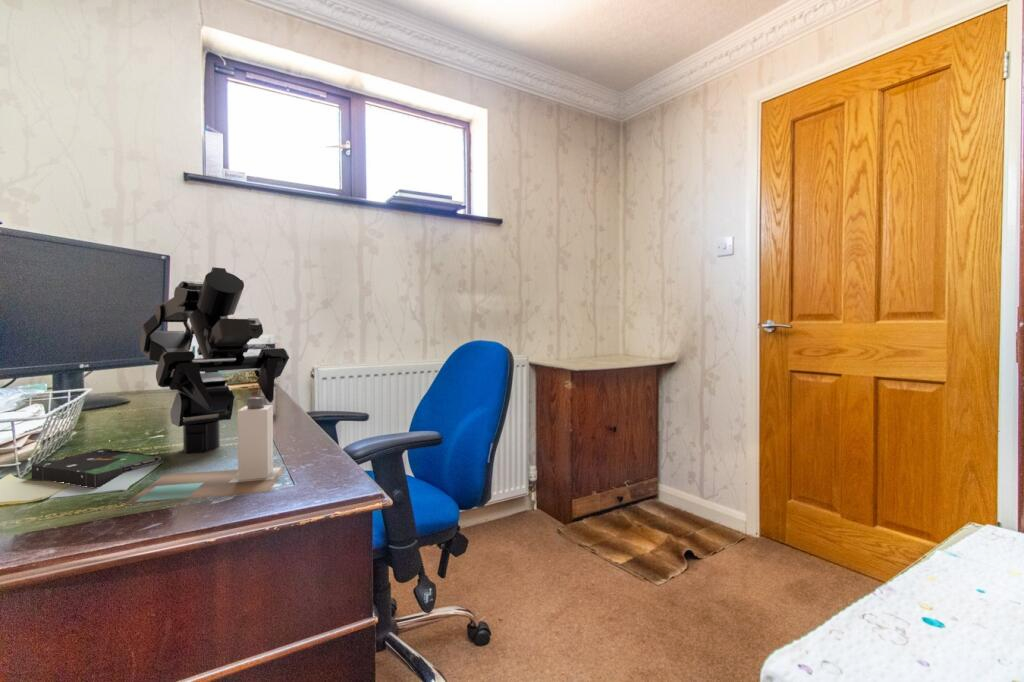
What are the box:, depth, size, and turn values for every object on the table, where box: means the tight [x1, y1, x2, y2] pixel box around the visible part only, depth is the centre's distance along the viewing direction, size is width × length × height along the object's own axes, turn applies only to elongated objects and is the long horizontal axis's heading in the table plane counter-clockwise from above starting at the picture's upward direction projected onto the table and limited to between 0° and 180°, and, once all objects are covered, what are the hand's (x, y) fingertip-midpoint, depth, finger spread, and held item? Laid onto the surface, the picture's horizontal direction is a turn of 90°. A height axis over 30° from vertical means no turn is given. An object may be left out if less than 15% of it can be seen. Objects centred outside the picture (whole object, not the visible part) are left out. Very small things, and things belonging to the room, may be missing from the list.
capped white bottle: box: [237, 396, 274, 480], centre depth 71 cm, size 4×4×12 cm
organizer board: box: [124, 465, 286, 505], centre depth 67 cm, size 12×17×1 cm
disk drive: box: [31, 448, 164, 489], centre depth 75 cm, size 10×3×15 cm
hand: (242, 404), depth 74 cm, fingers open, 9 cm apart
